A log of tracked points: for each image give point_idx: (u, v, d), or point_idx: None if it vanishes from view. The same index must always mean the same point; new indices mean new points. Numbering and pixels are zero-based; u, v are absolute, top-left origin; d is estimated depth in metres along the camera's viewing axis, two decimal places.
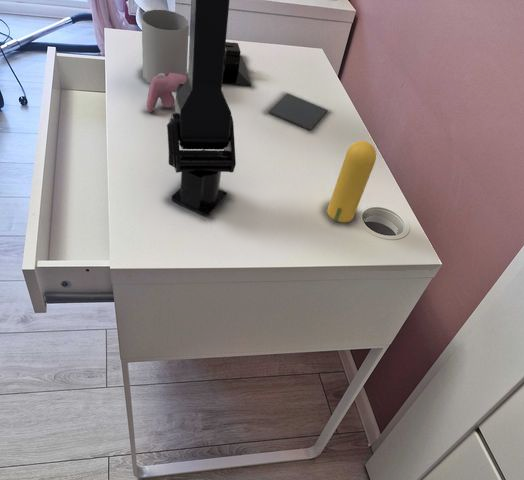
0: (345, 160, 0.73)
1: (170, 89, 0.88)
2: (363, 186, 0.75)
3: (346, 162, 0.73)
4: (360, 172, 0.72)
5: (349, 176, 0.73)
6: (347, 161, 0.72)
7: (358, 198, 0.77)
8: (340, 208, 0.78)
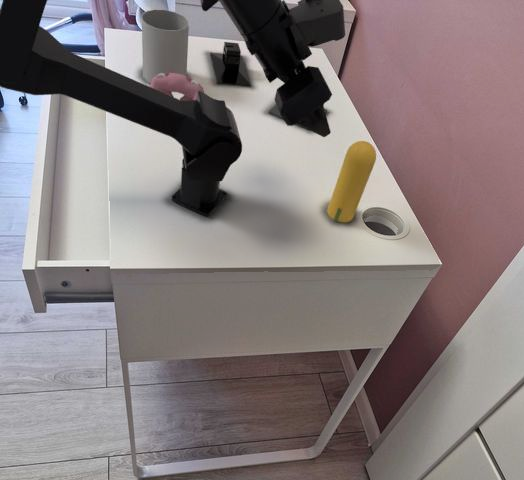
0: (345, 160, 0.73)
1: (170, 89, 0.88)
2: (363, 186, 0.75)
3: (346, 162, 0.73)
4: (360, 172, 0.72)
5: (349, 176, 0.73)
6: (347, 161, 0.72)
7: (358, 198, 0.77)
8: (340, 208, 0.78)
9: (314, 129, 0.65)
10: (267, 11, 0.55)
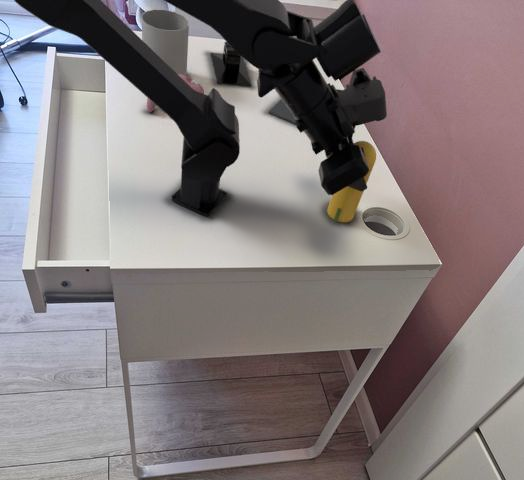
0: None
1: None
2: None
3: None
4: None
5: None
6: None
7: (358, 198, 0.77)
8: (340, 208, 0.78)
9: (352, 185, 0.73)
10: (315, 98, 0.63)
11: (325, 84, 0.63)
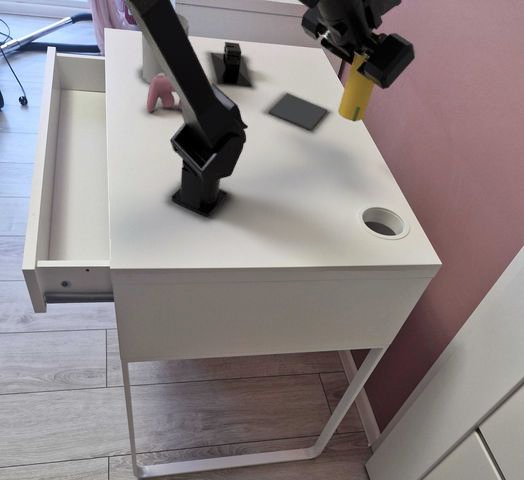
0: None
1: (170, 89, 0.88)
2: None
3: (363, 58, 0.76)
4: None
5: None
6: (364, 57, 0.76)
7: (371, 91, 0.81)
8: (359, 107, 0.82)
9: None
10: None
11: None
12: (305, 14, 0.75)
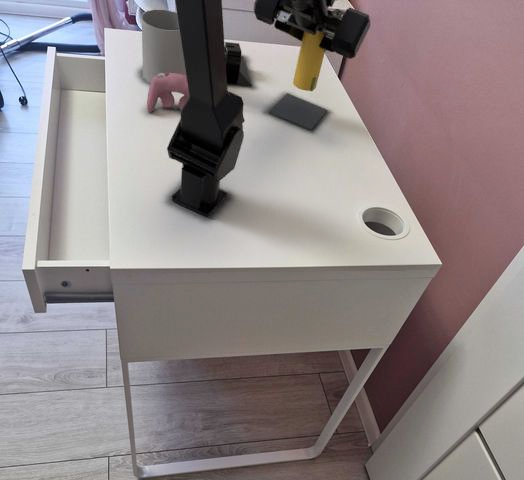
0: None
1: (170, 89, 0.88)
2: None
3: None
4: None
5: None
6: (317, 32, 0.84)
7: None
8: (314, 77, 0.90)
9: None
10: None
11: None
12: (258, 2, 0.81)
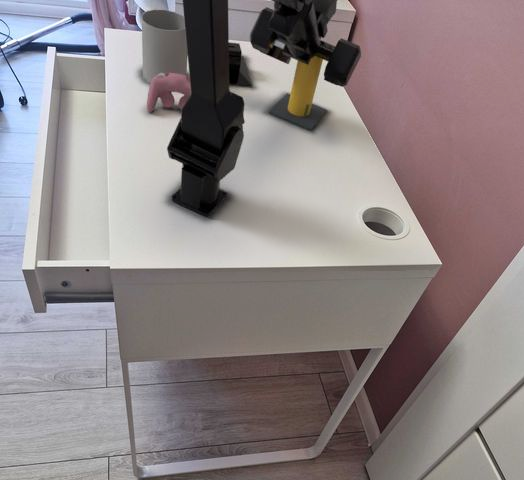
0: None
1: (170, 89, 0.88)
2: None
3: (308, 64, 0.88)
4: (320, 65, 0.89)
5: (314, 73, 0.90)
6: (309, 63, 0.88)
7: None
8: (308, 104, 0.94)
9: None
10: (315, 17, 0.76)
11: None
12: (253, 33, 0.84)
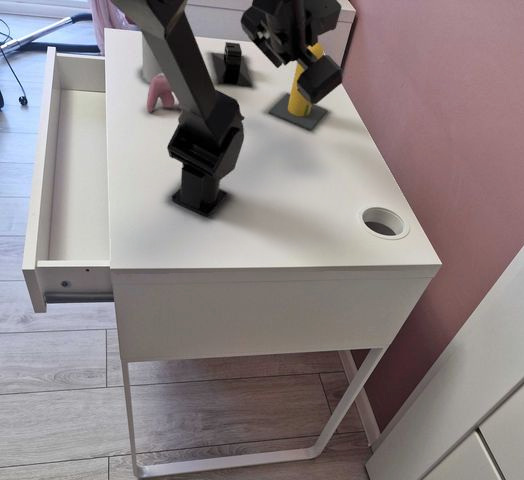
0: None
1: (170, 89, 0.88)
2: None
3: None
4: None
5: None
6: None
7: None
8: (308, 104, 0.94)
9: None
10: (305, 6, 0.68)
11: None
12: (246, 12, 0.77)
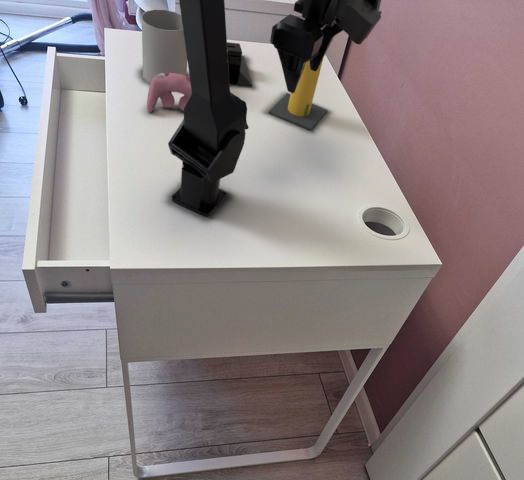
0: (306, 63, 0.88)
1: (170, 89, 0.88)
2: None
3: (308, 64, 0.88)
4: (320, 65, 0.89)
5: (314, 73, 0.90)
6: (309, 63, 0.88)
7: None
8: (308, 104, 0.94)
9: (286, 75, 0.73)
10: None
11: None
12: None
